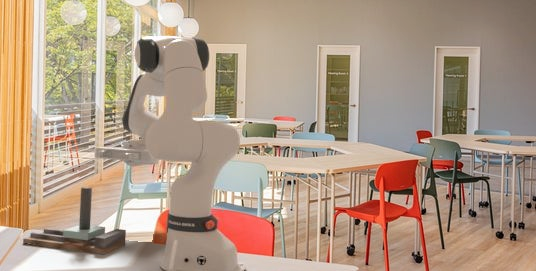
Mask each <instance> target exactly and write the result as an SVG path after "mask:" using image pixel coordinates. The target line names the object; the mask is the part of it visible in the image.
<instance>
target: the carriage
mask: <svg viewBox="0 0 536 271" xmlns="http://www.w3.org/2000/svg"><path fill="white" fill-rule="evenodd" d="M92 189H93V187H91V186H90V187H89V186H83V187H80V202H79V203H80V204H79V207H80V208H79V224H77V225H75V226H72V227H69V228H66V229H63V237H67V238H74V239H82V240H90V239H92V238H95V237H97V236H99V235H102V234H105V233H106V227H105V226H99V225H91V216H92V215H91V214H92V193H93V190H92Z"/></svg>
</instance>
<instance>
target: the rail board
mask: <svg viewBox="0 0 536 271" xmlns="http://www.w3.org/2000/svg"><path fill="white" fill-rule="evenodd" d="M63 230H64V229H63ZM63 230H62V229H56V228H47V227H46V228H43V231H42V232H34V231H32V232H30V236H27V237H24V238H23V241H22V243H30V244H35V245H34V246H36V245H39V246H38V247H45V248H53V249H60V250H67V251H68V250H69V251H75V252H80V253H81V252H83V253H89V254H96V255H105V254H108V253H110V252H112V251H115V250H117V249H119V248H121V247H124V246H125V245H126V235H127V234H126V231H127V230H126V229H120V228H116V229H113V230H111V231H108V232H105V234H102V235H99V236H97V237H95V238H92V239H90V240H82V239H74V238H67V237H63Z"/></svg>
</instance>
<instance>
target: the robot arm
mask: <svg viewBox="0 0 536 271" xmlns="http://www.w3.org/2000/svg"><path fill="white" fill-rule="evenodd" d="M136 42H137V43H136V45H135V49H134V59H135V62H136V65H137V67H138V68H139V70H140V71H142V73H140V74H139V76H137V78H136V80H135V82H134V84H133V87H132V89H131V93H130V97H129V99H128V103H127V107H126V108H125V111H124V112H123V115H122V119H121V122H122V125H123V129H124V130H125V131H126V132H129V133H131V134H134V135H136V136H138V137H140V138H141V139H135V140H128V141H126V142H125V143H124V144H123V146H122V147H118V146H97V147H95V151H94V157H95V158H96V159H101V160H102V159H103V160H117V161H118V160H119V161H123V162H124V164H126V165H127V166H130V167H139V166H143V165H144V166H146V165H157V164H158V163H159V161H160V160H161V161H165V162H169V163H170V162H171V163H174V162H175V163H190V162H191V163H190V164H191V165H190V167H189V168H188V170H187V171H186V173H185V174H183V175H181V176H179V177H177V178H176V179H175V180H174V181H173V182H172V183H171V186H170V192H169V208H168V209H169V210H168V211H169V212H167V216H166V217H167V218H166V243H165V247H164V252H163V256H162V259H161V262H160V265H159V266H160V268H161V269H162V270H164V271H244V269H245V270H246V263H244V262H243V261H239V258H238V250H237V247H236V245H235V244H234V243H233V242H232V241H231V240H230V239H229V238H228V237H227V236H225V234H223V233H222V232H221V231H220V230H218V224H219V222H220V217H217V218H216V217H215V216H214V215H213V214H212V205H213V195H214V189H215V185H216V181H217V178H218V177H219V174H220V173H221V171H222V169H223V168H224V167H225V166H226V164H227V163H229V162H230V161H231V160H232V159H234V158H235V156H236V155H237V154H238V152H239V149H240V146H241V145H240V144H241V141H240V140H241V139H240V135H239V132H238V131H237V128H235V127H234V125H231V124H228V123H224V122H219V121H210V120H197V119H193V116H192V115H193V114H194V113H196V112H198V111H199V110H201V109H202V108H203V107H204V106H206V103H207V100H208V92H207V91H208V90H207V86H206V81H205V76H204V71H206V69H207V68H208V66H209V61H210V57H211V56H210V55H211V54H210V50H209V49H210V48H209V46H208V43H207V42H206V41H205V40H204V39H201V38H198V37H192V38H190V37H184V36H173V35H163V36H162V35H161V36H160V35H159V36H154V37H153V36H151V35H150V36H145V37H140V38H139V40H138V41H136ZM147 96H152V97H157V98H159V97H165V107H164V110H163V111H162V114H161V115H160V116H159V115H157V114H155V113H154V112H152V111H150V110H148V108H146V107H145V106H144V103H145V100H146V97H147Z"/></svg>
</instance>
